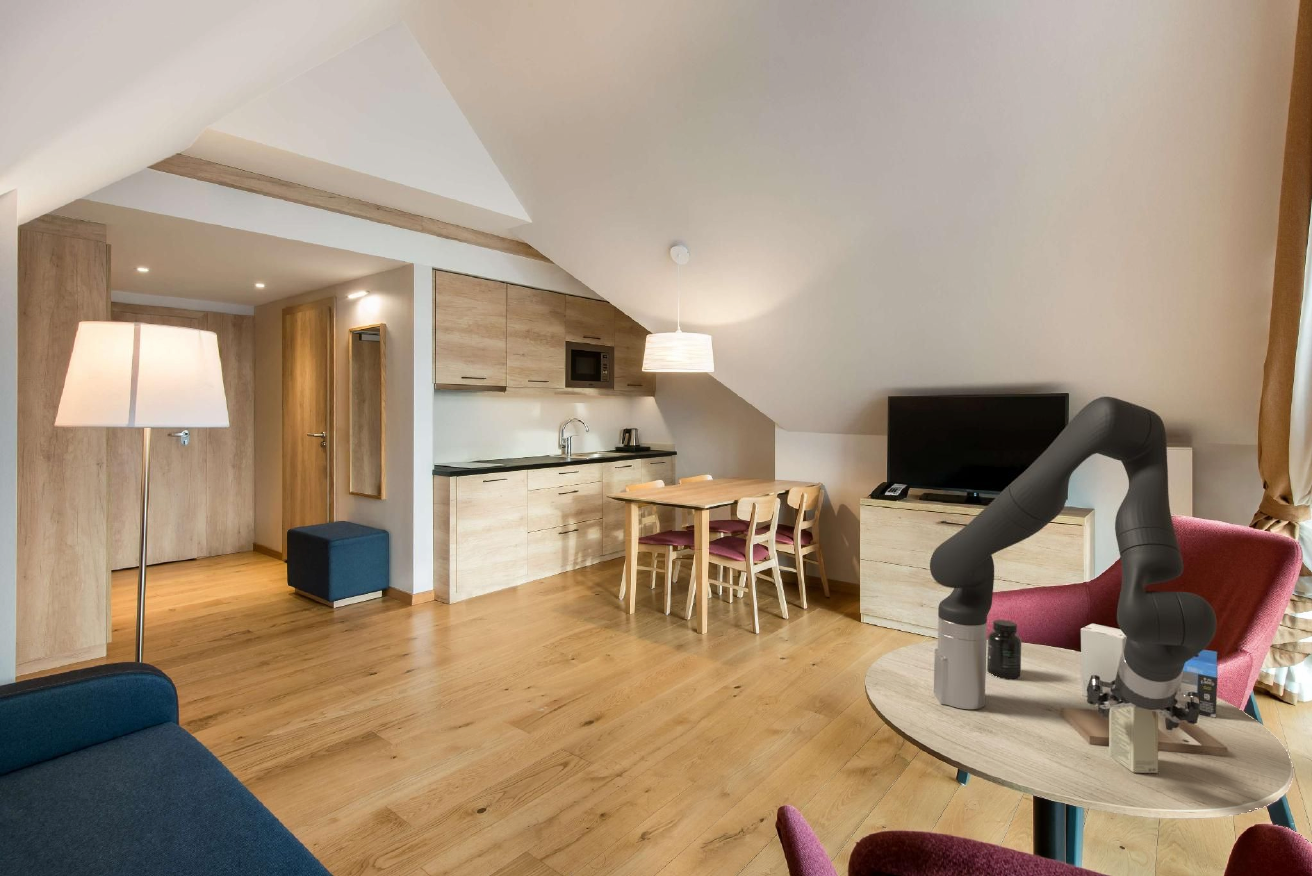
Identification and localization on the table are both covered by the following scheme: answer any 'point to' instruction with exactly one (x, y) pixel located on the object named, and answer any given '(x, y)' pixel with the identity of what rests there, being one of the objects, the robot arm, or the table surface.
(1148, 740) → the skincare box
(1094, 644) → the skincare box
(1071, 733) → the table surface
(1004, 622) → the supplement bottle
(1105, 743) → the subfloor panel
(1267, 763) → the table surface
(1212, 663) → the label tape cartridge
